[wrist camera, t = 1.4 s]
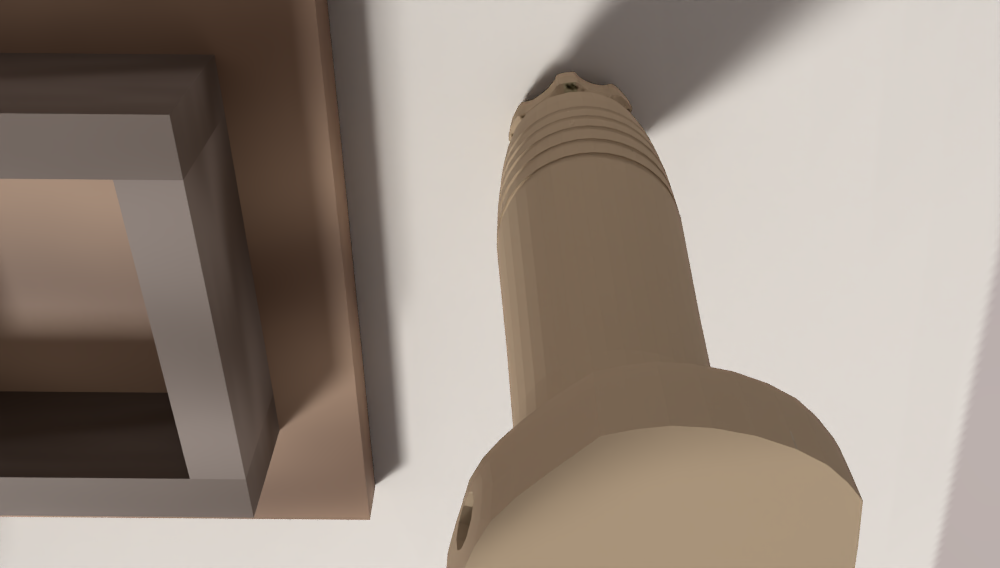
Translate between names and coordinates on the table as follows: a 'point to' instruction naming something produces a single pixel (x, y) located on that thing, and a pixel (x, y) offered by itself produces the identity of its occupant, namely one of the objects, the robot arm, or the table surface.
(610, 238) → the handle
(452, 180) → the table surface
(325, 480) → the holder
